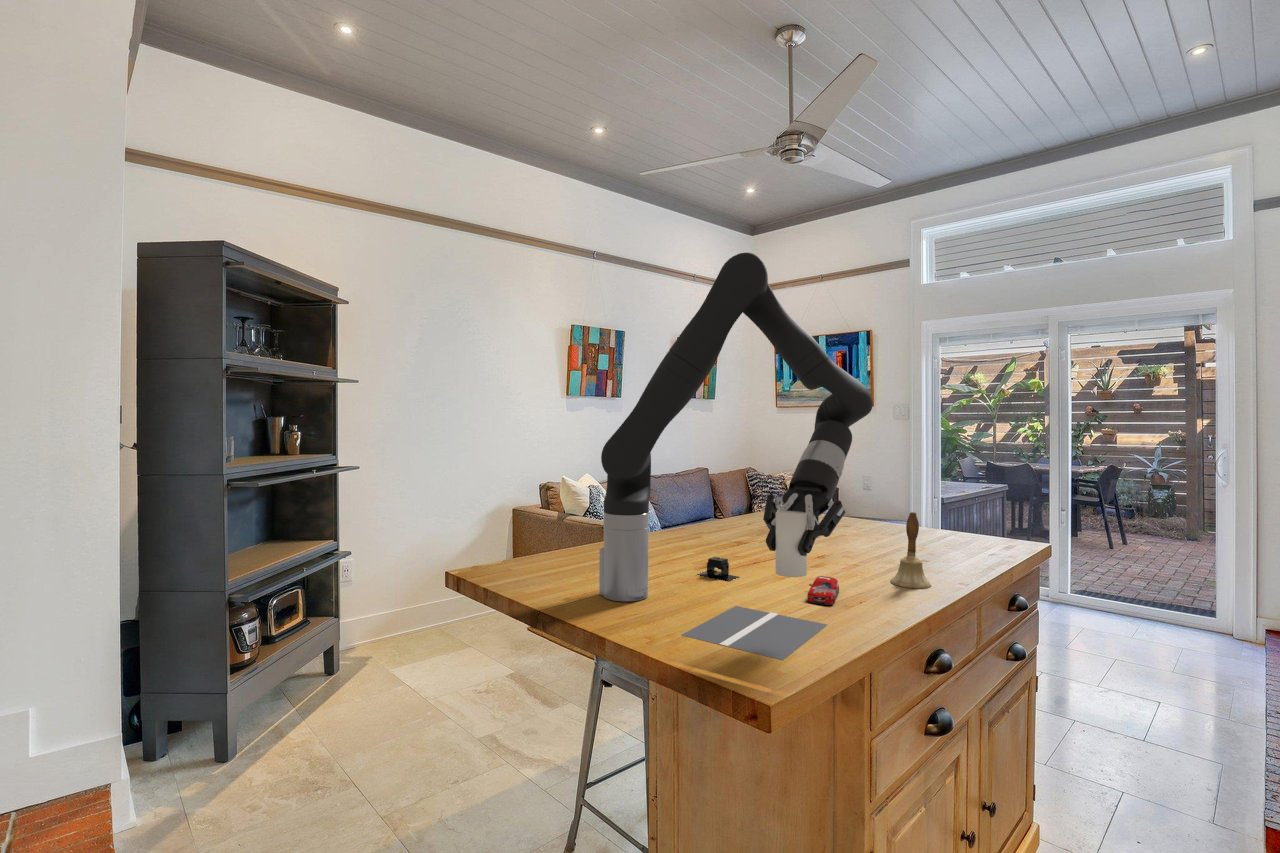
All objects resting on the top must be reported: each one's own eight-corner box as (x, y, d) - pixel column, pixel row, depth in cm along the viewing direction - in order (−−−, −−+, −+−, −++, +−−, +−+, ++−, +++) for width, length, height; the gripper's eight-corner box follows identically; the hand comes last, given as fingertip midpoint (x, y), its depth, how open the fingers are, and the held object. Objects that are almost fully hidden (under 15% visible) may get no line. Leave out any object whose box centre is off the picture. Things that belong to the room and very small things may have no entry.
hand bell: (917, 578, 144) (918, 509, 144) (939, 588, 136) (940, 515, 135) (883, 579, 143) (884, 510, 142) (903, 589, 134) (904, 515, 134)
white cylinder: (770, 574, 102) (770, 513, 102) (782, 568, 107) (782, 509, 106) (799, 578, 100) (800, 516, 99) (811, 572, 104) (811, 512, 103)
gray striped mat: (680, 637, 104) (680, 634, 104) (735, 608, 120) (735, 605, 120) (783, 663, 93) (783, 659, 93) (828, 627, 110) (828, 624, 110)
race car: (833, 609, 121) (833, 589, 121) (804, 605, 123) (804, 585, 123) (842, 592, 133) (842, 573, 133) (815, 588, 135) (816, 570, 135)
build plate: (748, 580, 144) (749, 560, 143) (732, 586, 138) (732, 565, 138) (703, 571, 151) (703, 552, 151) (686, 577, 146) (686, 557, 146)
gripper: (774, 456, 113) (739, 531, 104) (852, 459, 104) (820, 542, 95) (788, 482, 117) (755, 557, 108) (863, 488, 108) (834, 570, 99)
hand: (785, 550), depth 102 cm, fingers closed on white cylinder, 5 cm apart
